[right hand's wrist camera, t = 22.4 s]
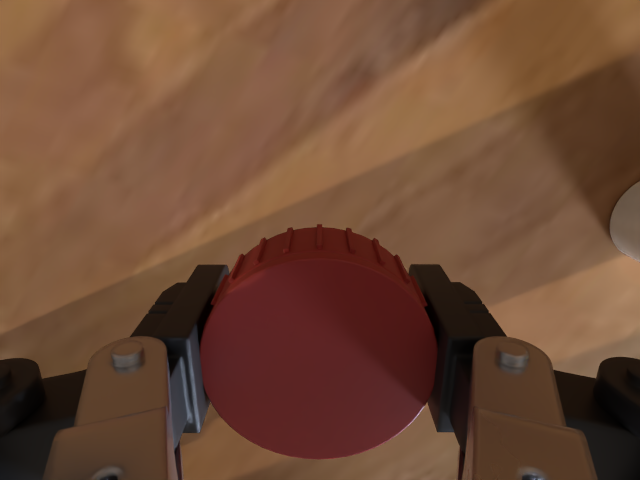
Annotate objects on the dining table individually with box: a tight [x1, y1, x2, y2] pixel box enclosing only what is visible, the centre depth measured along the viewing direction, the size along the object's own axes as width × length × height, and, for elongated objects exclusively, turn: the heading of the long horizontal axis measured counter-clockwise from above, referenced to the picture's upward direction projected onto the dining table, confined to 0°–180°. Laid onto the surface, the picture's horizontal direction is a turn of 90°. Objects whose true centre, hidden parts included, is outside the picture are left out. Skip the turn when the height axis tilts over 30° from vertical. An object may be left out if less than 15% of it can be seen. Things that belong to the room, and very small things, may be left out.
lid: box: [200, 224, 438, 459], centre depth 10 cm, size 5×5×2 cm
